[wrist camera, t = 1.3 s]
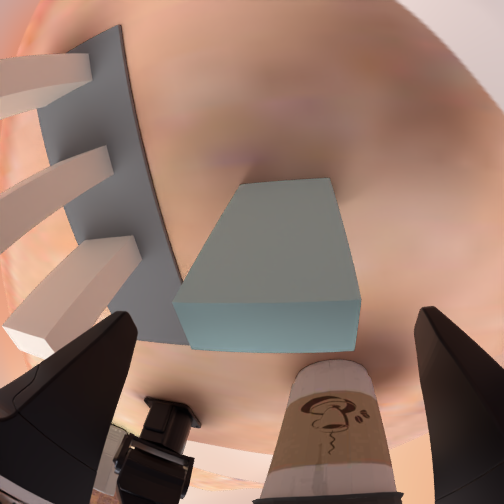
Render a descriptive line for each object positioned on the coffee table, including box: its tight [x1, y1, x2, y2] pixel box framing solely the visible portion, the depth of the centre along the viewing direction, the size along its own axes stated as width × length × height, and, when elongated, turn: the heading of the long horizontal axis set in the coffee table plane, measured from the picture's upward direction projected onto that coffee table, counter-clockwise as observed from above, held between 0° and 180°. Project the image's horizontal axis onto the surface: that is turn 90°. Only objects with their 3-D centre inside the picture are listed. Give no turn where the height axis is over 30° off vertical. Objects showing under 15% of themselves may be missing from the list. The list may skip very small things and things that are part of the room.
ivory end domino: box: [0, 53, 93, 120], centre depth 9 cm, size 2×5×10 cm, turn 99°
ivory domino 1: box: [0, 145, 114, 254], centre depth 12 cm, size 2×5×10 cm, turn 98°
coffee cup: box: [252, 360, 404, 504], centre depth 18 cm, size 11×11×15 cm
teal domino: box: [172, 178, 361, 353], centre depth 12 cm, size 2×5×10 cm, turn 99°
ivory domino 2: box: [2, 235, 142, 359], centre depth 16 cm, size 2×5×10 cm, turn 99°
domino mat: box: [37, 25, 190, 345], centre depth 18 cm, size 25×8×1 cm, turn 9°
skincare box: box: [93, 425, 127, 496], centre depth 40 cm, size 8×7×16 cm
